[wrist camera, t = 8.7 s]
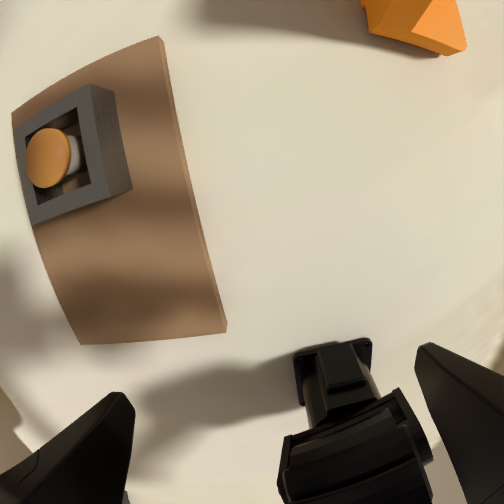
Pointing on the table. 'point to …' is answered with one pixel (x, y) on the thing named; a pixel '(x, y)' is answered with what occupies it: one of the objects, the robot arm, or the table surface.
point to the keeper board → (125, 213)
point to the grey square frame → (95, 148)
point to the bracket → (418, 23)
